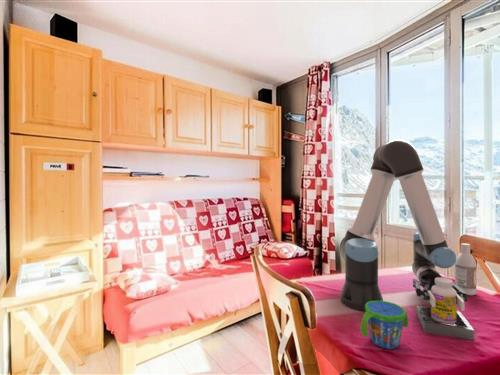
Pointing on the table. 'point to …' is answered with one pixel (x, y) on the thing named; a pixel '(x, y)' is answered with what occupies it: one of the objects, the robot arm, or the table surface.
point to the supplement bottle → (444, 301)
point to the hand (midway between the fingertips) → (448, 304)
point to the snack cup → (384, 323)
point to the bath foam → (466, 270)
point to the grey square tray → (445, 325)
